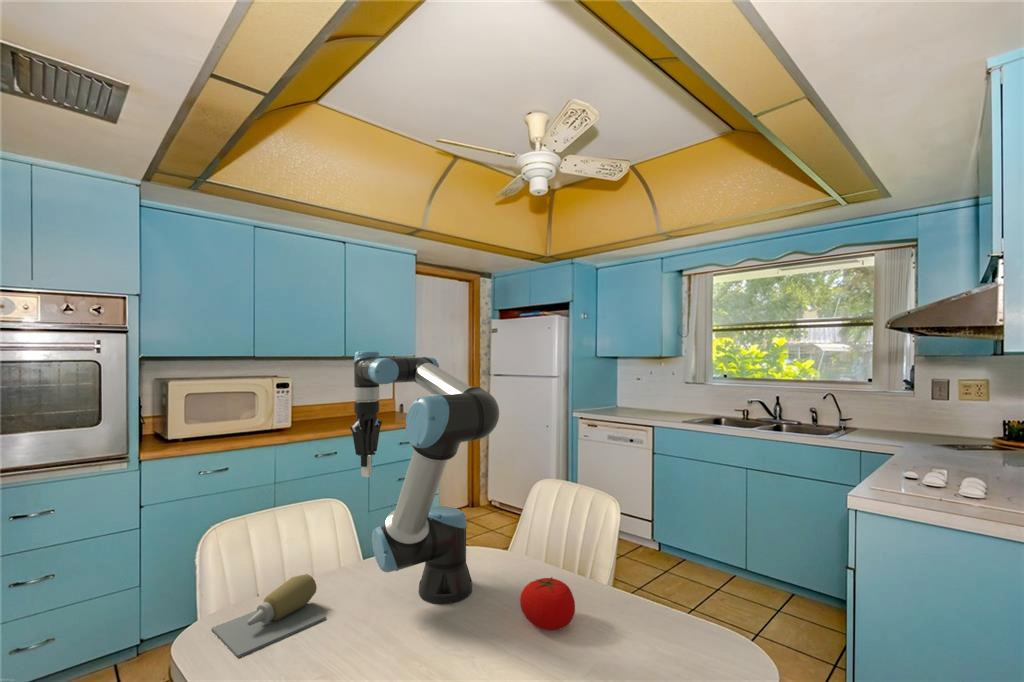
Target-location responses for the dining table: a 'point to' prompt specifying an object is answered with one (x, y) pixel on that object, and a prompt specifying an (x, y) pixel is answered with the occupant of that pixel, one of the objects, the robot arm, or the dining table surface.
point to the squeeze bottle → (285, 599)
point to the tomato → (548, 603)
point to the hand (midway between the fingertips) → (366, 476)
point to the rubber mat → (263, 630)
